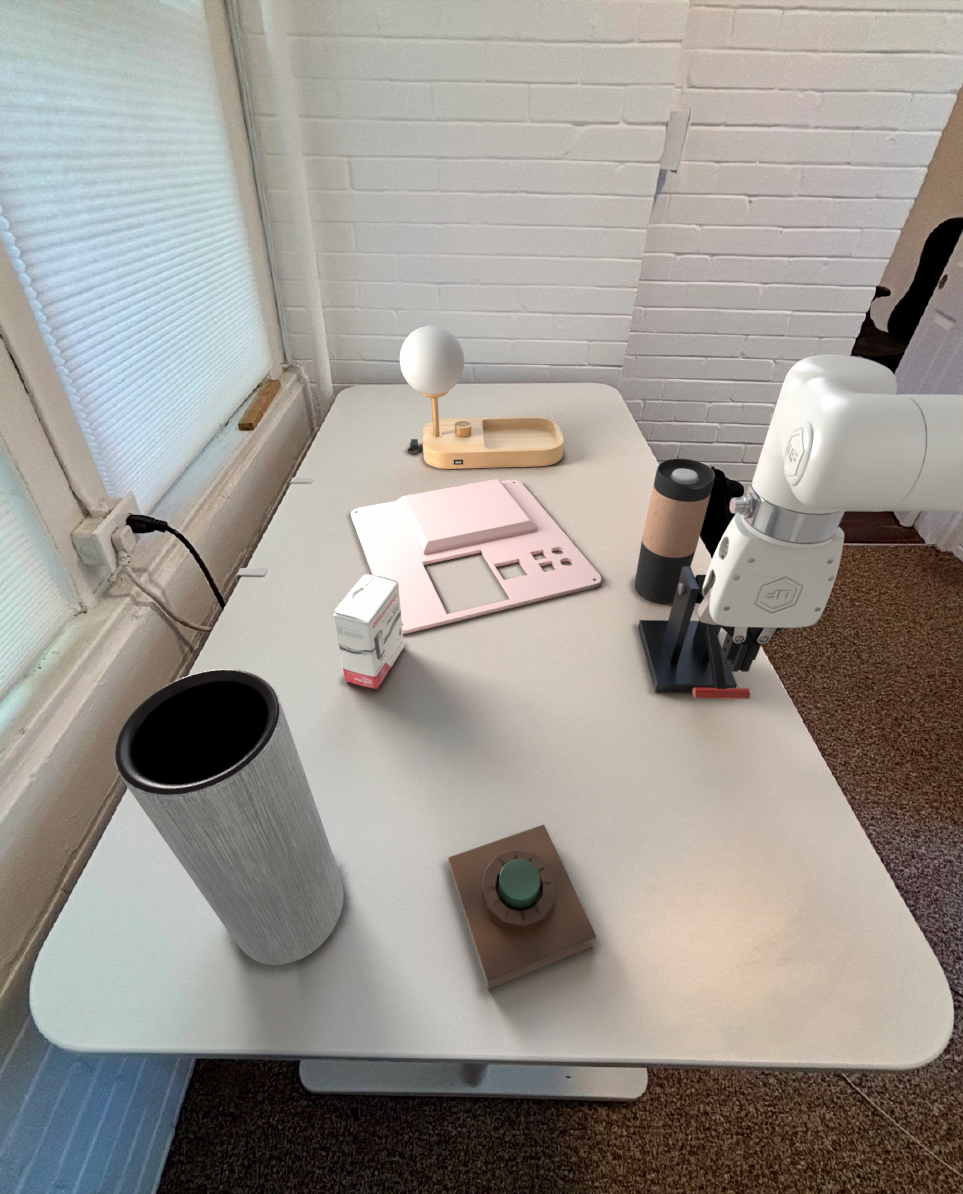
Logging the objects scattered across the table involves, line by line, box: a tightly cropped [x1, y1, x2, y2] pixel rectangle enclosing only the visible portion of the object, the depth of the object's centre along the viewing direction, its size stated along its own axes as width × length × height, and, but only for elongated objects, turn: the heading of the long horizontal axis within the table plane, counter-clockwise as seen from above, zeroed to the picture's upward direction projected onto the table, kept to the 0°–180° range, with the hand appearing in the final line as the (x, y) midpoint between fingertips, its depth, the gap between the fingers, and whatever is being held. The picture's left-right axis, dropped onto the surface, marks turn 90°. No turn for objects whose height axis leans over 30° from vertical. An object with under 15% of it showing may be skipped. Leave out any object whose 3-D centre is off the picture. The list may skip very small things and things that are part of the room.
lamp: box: [399, 325, 565, 470], centre depth 119 cm, size 33×17×25 cm, turn 93°
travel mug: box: [634, 458, 716, 604], centre depth 84 cm, size 8×8×20 cm
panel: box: [350, 478, 602, 635], centre depth 99 cm, size 35×33×2 cm
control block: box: [448, 824, 597, 990], centre depth 54 cm, size 11×10×4 cm
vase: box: [113, 668, 345, 966], centre depth 46 cm, size 10×10×27 cm
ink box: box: [333, 573, 405, 690], centre depth 75 cm, size 9×5×12 cm, turn 161°
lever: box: [691, 574, 751, 700], centre depth 69 cm, size 15×6×2 cm, turn 179°
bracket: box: [637, 566, 738, 693], centre depth 75 cm, size 12×10×14 cm
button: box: [499, 859, 540, 909], centre depth 52 cm, size 4×4×2 cm
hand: (735, 662), depth 62 cm, fingers closed
